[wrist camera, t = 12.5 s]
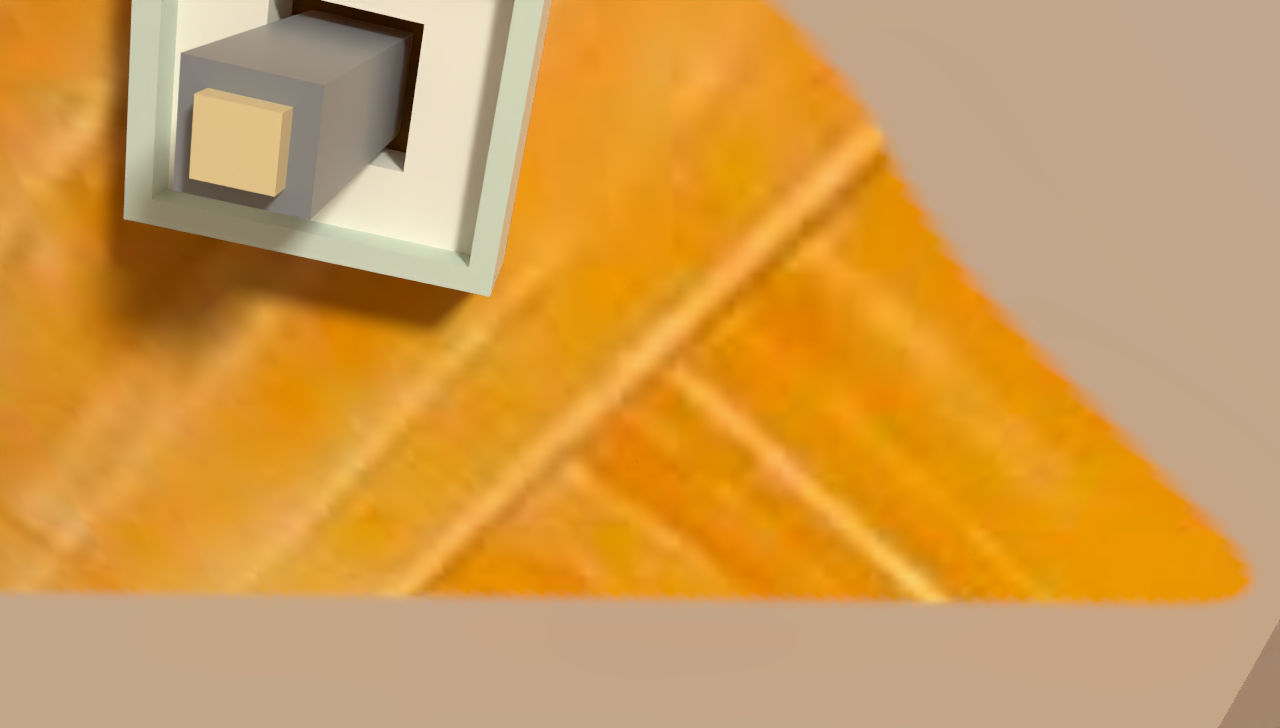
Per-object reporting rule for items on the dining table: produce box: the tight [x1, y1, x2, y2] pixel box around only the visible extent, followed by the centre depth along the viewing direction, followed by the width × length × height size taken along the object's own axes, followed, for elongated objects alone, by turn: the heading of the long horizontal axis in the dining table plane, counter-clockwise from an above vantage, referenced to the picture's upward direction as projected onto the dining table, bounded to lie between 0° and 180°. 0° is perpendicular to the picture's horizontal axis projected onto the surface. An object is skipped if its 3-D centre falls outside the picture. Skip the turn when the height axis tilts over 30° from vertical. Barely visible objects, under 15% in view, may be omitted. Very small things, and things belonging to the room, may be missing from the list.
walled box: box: [124, 0, 552, 297], centre depth 41 cm, size 14×13×4 cm
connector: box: [173, 9, 414, 220], centre depth 36 cm, size 4×4×14 cm
